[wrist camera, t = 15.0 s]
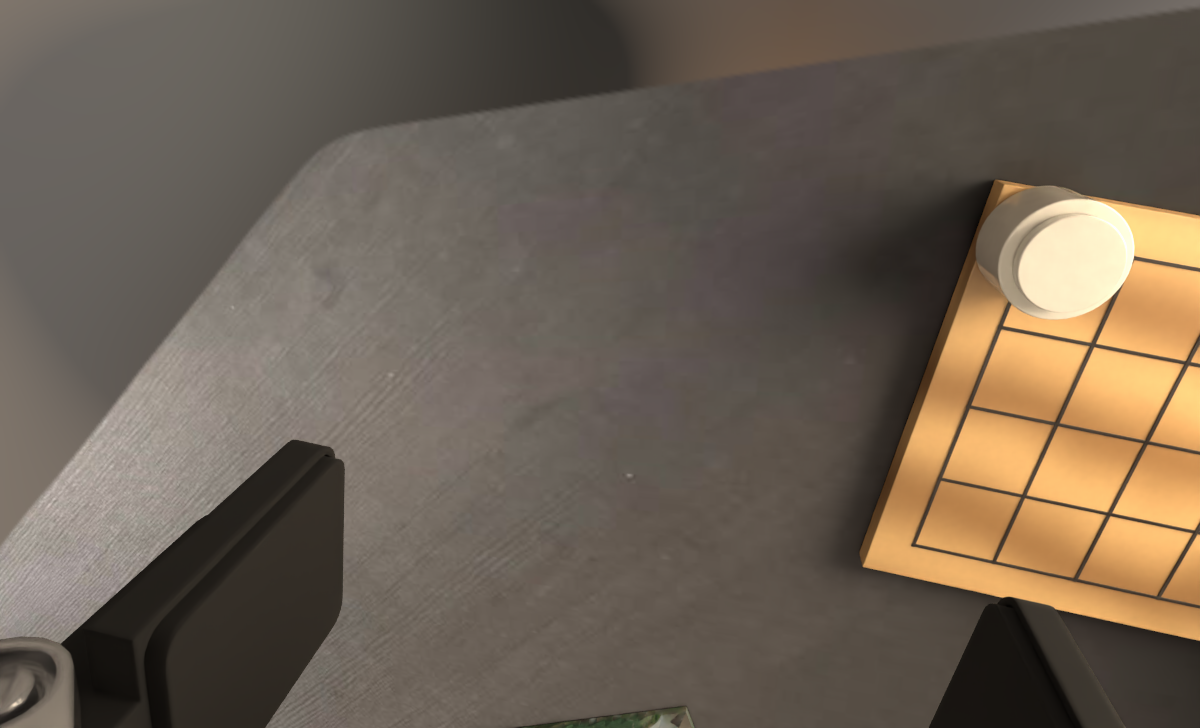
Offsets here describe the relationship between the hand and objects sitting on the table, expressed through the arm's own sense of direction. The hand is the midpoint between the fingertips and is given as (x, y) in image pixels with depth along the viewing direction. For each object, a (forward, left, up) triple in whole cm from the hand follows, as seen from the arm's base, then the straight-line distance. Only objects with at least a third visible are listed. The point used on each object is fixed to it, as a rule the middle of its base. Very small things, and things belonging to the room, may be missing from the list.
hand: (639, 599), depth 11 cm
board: (+6, +22, -26) cm, 35 cm away
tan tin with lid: (-2, +14, -25) cm, 29 cm away
